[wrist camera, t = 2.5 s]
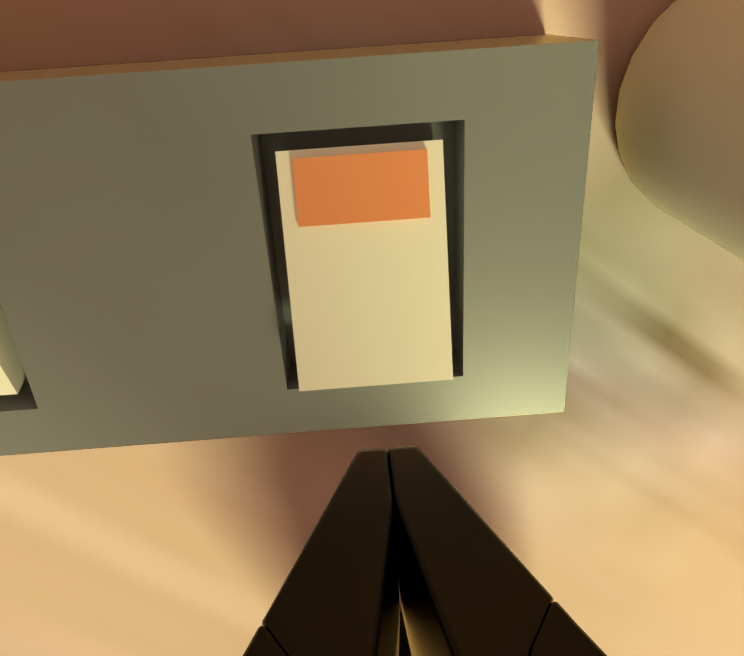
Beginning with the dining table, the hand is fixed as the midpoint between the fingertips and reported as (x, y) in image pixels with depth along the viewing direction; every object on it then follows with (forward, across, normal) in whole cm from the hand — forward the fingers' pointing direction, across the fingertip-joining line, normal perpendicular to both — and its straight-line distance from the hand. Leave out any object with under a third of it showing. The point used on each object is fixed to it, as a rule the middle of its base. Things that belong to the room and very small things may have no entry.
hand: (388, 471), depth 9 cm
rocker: (+8, 0, 0) cm, 8 cm away
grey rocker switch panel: (+12, +6, 0) cm, 13 cm away
